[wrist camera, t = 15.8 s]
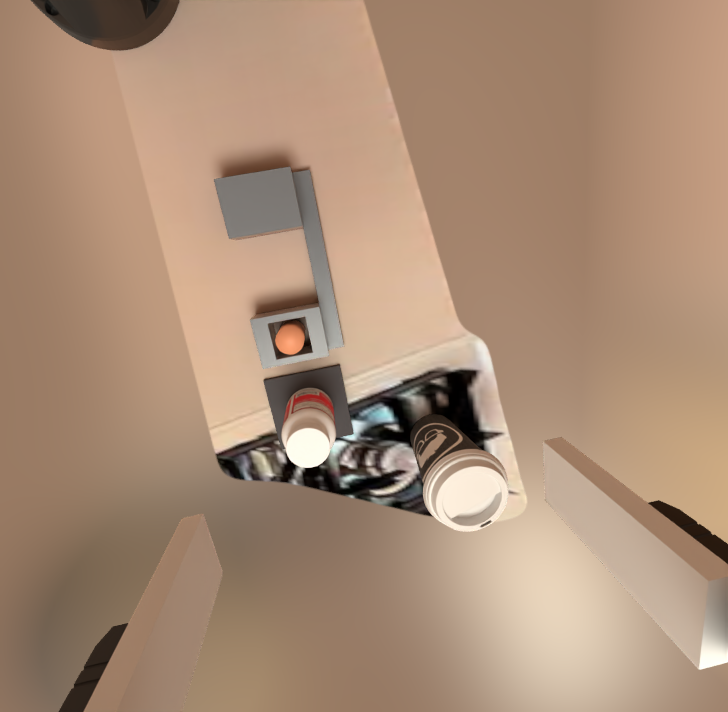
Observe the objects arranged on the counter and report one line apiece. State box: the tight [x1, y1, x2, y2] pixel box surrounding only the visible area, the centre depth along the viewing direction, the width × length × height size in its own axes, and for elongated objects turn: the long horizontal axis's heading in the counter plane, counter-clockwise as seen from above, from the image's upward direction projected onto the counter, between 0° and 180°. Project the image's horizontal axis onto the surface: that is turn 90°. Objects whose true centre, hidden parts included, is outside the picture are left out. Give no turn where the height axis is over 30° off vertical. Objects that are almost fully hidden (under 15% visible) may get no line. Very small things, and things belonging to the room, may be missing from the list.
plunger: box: [275, 320, 305, 355], centre depth 46 cm, size 3×3×5 cm
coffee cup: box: [410, 414, 508, 531], centre depth 48 cm, size 10×10×15 cm
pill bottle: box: [282, 388, 336, 468], centre depth 46 cm, size 6×6×11 cm
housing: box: [214, 167, 344, 369], centre depth 45 cm, size 21×10×4 cm, turn 10°
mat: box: [264, 365, 353, 449], centre depth 52 cm, size 10×10×1 cm
